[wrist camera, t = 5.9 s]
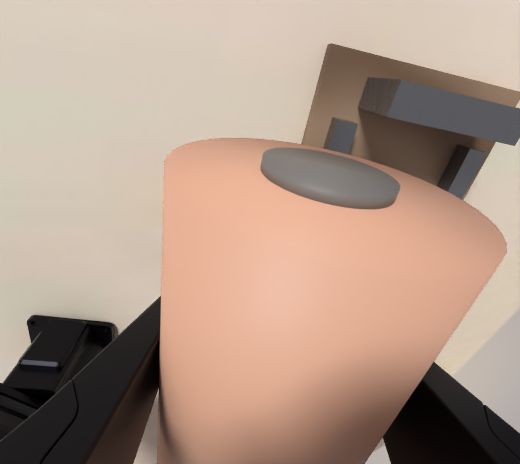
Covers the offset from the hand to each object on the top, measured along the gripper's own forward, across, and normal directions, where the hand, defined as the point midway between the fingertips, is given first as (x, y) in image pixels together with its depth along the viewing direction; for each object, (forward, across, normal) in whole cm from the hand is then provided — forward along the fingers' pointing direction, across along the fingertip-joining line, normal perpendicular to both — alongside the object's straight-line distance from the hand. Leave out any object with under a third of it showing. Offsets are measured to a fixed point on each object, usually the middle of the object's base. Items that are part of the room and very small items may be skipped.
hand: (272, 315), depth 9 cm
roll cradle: (+12, -8, +1) cm, 15 cm away
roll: (+2, 0, 0) cm, 2 cm away
